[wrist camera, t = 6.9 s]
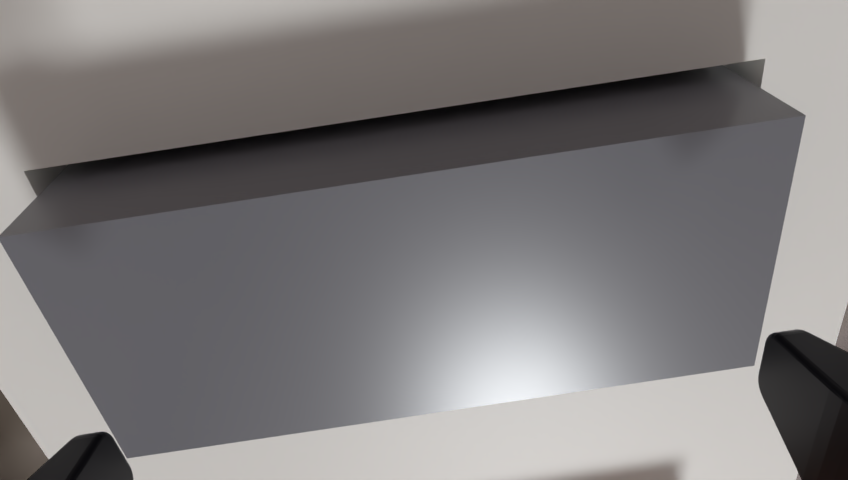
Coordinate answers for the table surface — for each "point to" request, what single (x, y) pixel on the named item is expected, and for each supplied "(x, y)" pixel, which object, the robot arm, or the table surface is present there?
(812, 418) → the robot arm
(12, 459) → the table surface
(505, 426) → the white tray
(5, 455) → the table surface
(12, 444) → the table surface
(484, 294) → the dark grey rectangular block
